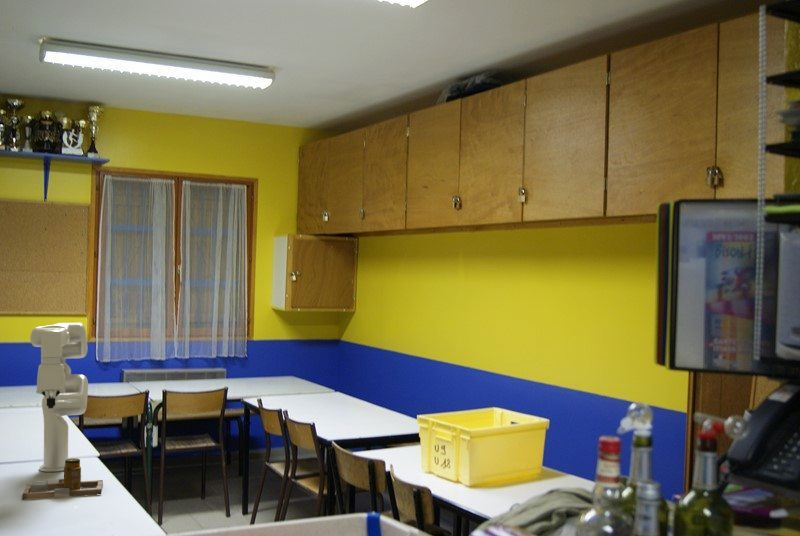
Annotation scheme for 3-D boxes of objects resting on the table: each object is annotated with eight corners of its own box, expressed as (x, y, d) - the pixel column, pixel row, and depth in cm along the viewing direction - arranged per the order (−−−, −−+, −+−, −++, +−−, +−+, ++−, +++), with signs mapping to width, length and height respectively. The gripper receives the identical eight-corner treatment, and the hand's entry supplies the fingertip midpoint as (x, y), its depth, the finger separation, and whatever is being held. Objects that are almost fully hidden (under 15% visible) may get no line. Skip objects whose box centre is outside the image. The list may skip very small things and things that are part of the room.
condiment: (81, 488, 319) (82, 456, 319) (82, 494, 312) (82, 461, 311) (61, 490, 317) (61, 458, 317) (61, 495, 309) (61, 463, 309)
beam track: (27, 489, 317) (27, 478, 317) (102, 484, 325) (103, 474, 325) (21, 500, 302) (21, 489, 302) (100, 495, 310) (101, 484, 310)
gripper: (72, 359, 333) (72, 405, 333) (32, 360, 329) (31, 407, 329) (71, 362, 326) (70, 408, 326) (29, 362, 322) (28, 410, 322)
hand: (50, 407), depth 328 cm, fingers closed
